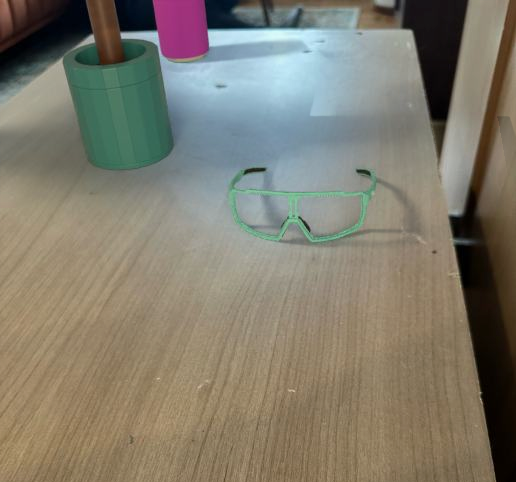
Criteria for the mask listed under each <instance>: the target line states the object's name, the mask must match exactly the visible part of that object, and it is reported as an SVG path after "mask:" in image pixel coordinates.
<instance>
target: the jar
mask: <svg viewBox="0 0 516 482" xmlns="http://www.w3.org/2000/svg"><path fill="white" fill-rule="evenodd" d="M121 39H122V44H123V49H124V54H125V59H126V62H123V63H118V64H111V65H100V62H99V58H98V53H97V48H96V44H95V42H91V43H87V44H85V45H84V44H83V45H81V46H78V47H76V48H73V49H72V50H70V51H68V52H67V53H66V54H65V55H63V57H62V62H61V63H62V65H63V70H64V73H65V77H66V80H67V81H66V82H67V85H68V89H69V94H70V97H71V100H72V106H73V109H74V112H75V116H76V120H77V124H78V129H79V132H80V136H81V140H82V144H83V147H84V151H85V154H86V157H87V160H88V162H89V163H90V164H92V165H93V166H96V167H98V168H100V169H105V170H110V171H111V170H112V171H113V170H114V171H121V170H122V171H124V170H134V169H138V168H143V167H147V166H150V165H153V164H155V163H158V162H159V161H161V160H163V159H165V158H166V157H168V156H169V155H170V154H171V152H172V151H173V149H174V141H173V133H172V126H171V120H170V113H169V107H168V100H167V95H166V89H165V83H164V76H163V70H162V63H161V57H160V50H159V45H158V44H156V43H154V41H150V40H147V39H143V38H141V39H140V38H121Z"/></svg>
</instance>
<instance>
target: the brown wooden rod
mask: <svg viewBox="0 0 516 482" xmlns="http://www.w3.org/2000/svg"><path fill="white" fill-rule="evenodd" d="M85 3H86V8H87V11H88V16H89V21H90V26H91V31H92V35H93V39H94V43H95V44H96V48H97V53H98V58H99V62H100V65H111V64H118V63H123V62H126V59H125V54H124V49H123V44H122V39H123V38H122V33H121V28H120V23H119V19H118V15H117V8H116V4H115V0H85Z"/></svg>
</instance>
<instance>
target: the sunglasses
mask: <svg viewBox="0 0 516 482" xmlns="http://www.w3.org/2000/svg"><path fill="white" fill-rule="evenodd" d="M267 171H268V167H267V166H249V167H244V168H242V169H240V170H239V171H238V172H237V173H236V174H235V175H234V176H233V178H232V179H231V180H230V181H229V184H228V200H229V203H230V208H231V209H230V210H231V213H232V216H233V218H234V220H235V223H236V224H237V225H238V226H239V227H240V228H241V229H242V230H244V231H245V232H247V233H249V234H250V235H252V236H256V237H258V238H261V239H264V240H267V241H268V240H269V241H274V242H276V241H277V242H278V241H280V240H281V239H282V238H283V237H284V235H285V233H286V231H287V228H288V227H289V225H290V224H297V225H298V227H299V228H300V230H301V231H302V233H303V234H304V236H305V237H306V239H308V241H309V242H311V243H321V242H327V241H332V240H337V239H340V238H343V237H346V236H348V235H350V234H353V233H355V232H356V231H358V230H359V229H360V228H362V226H363V223H364V222H365V221H364V220H365V218H366V214H367V205H368V203H370V201H371V200H373V198H374V197H375V194H376V191H377V177H376V174H375V172H374V171H373V170H372V169H370V168H366V167H357V168H355V173H356V174H357V175H360V176H367V177H369V178H370V179H371V181H372V183H371V185H370V187H368V188H367V189H366V190H365V191H363V190H358V191H357V190H356V191H349V192H344V191H342V190H329V191H325V190H324V191H285V190H283V191H282V190H266V189H256V188H248V189H246V190H245V189H239V188H235V185H236V184H237V183H239V182H240V180H242V178H243V177H246V176H248V175H252V174H264V173H267ZM236 194H242V195H250V194H252V195H260V196H261V195H262V196H273V197H275V196H276V197H286V198H287V200H288V208H289V209H288V216H287V217H286V219H285V220H284V221H283V222H282V223H281V226H280V230H279V232H278V234H277V235H272V234H267V233H264V232H261V231H260V232H259V231H258V230H255V229H254V228H252V227H250V226H248V225H247V224H246V223H245V222H243V221H242V220H241V219H240V216H239V214H238V211H237V210H238V209H237V205H236ZM339 195H340V196H341V197H344V198H345V197H354V196H360V207H361V209H360V216H359V220H358V222H357V223H356V224H354V225H353V226H351V227H349V228H347V229H345V230H343V231H341V232H337V233H334V234H329V235H325V236H313V235H312V234H311V231H312V230H311V227H310V226H309V223H308V222H307V221H306V220H305V219H303V217H301V216H300V215H299V199H300V198H301V197H338V196H339ZM293 201H294V215H293Z"/></svg>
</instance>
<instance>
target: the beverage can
mask: <svg viewBox="0 0 516 482" xmlns="http://www.w3.org/2000/svg"><path fill="white" fill-rule="evenodd" d="M152 4H153V11H154V16H155V23H156V30H157V35H158V42H159V49H160V52H161V56H163V57H164V58H165V59H166V60H167V61H169V62H172V63H190V62H196V61H198V60H202V59H203V58H205V56H206V55H207V53H209V51H210V41H209V32H208V31H209V29H208V22H207V12H206V4H205V0H152Z"/></svg>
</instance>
